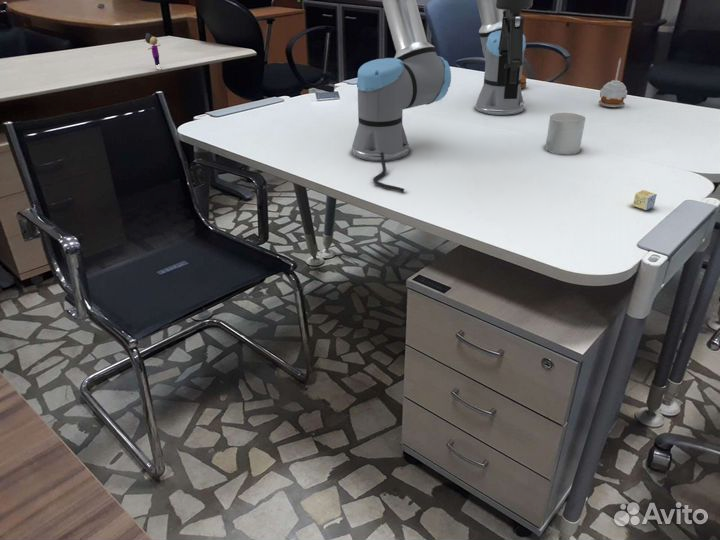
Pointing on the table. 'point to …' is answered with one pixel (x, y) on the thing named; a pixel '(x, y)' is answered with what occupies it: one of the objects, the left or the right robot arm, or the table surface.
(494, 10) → the right robot arm
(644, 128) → the table surface
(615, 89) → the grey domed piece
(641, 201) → the alphabet block
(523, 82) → the burger
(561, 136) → the can
